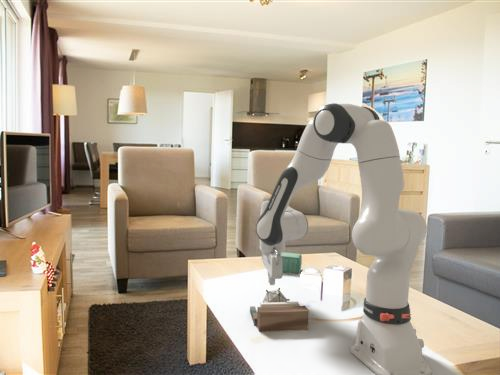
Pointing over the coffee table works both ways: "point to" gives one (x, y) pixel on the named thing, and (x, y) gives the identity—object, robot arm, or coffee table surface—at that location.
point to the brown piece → (280, 318)
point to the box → (291, 262)
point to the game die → (275, 296)
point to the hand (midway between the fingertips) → (271, 283)
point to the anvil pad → (279, 304)
